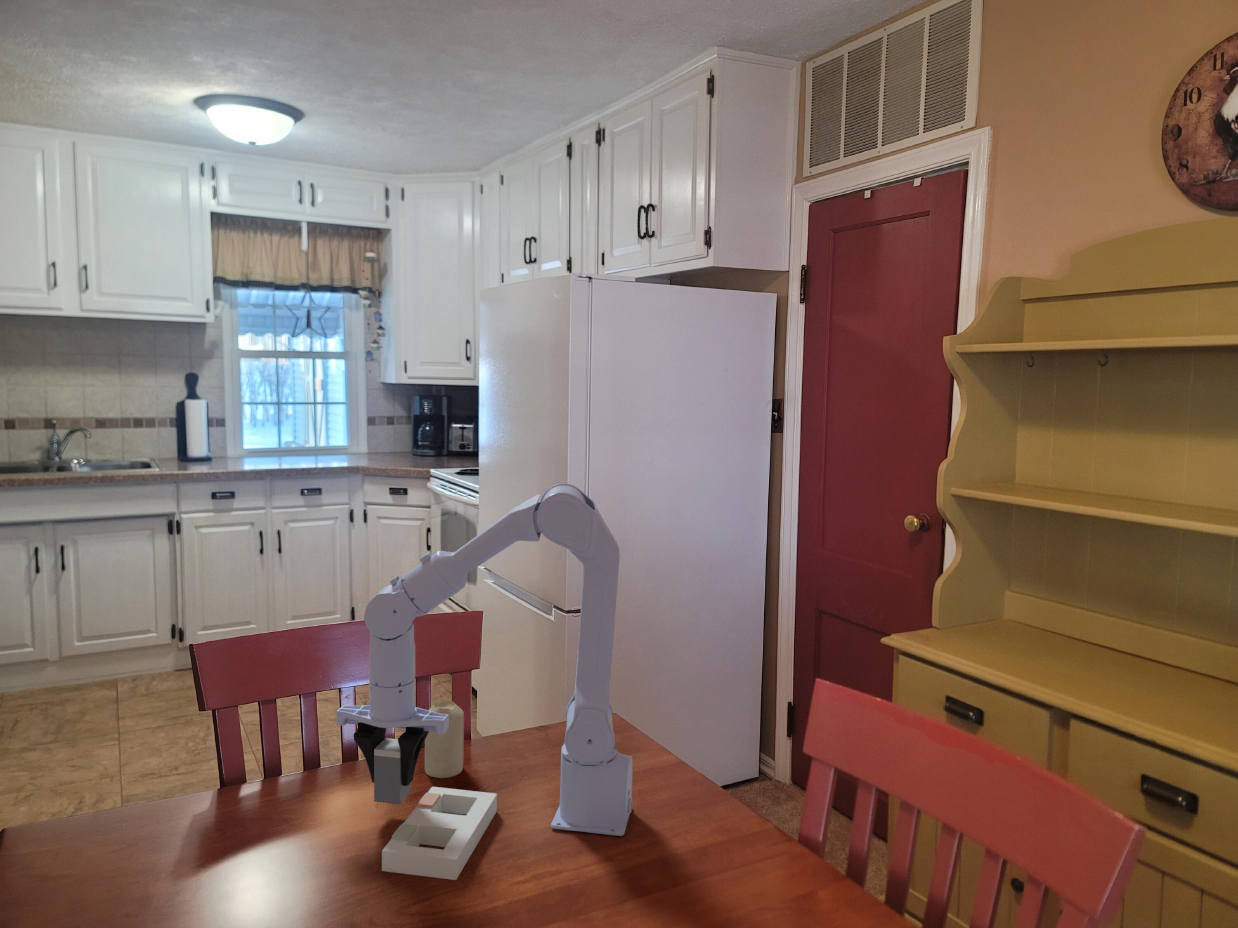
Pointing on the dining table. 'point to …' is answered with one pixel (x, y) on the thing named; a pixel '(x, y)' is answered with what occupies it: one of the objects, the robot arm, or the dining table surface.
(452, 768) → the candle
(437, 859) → the socket strip
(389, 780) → the plug
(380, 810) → the dining table surface
